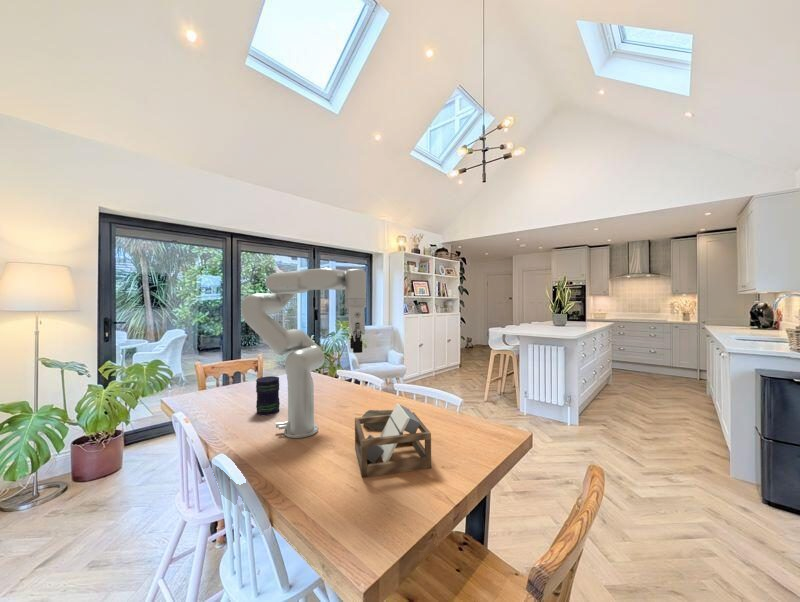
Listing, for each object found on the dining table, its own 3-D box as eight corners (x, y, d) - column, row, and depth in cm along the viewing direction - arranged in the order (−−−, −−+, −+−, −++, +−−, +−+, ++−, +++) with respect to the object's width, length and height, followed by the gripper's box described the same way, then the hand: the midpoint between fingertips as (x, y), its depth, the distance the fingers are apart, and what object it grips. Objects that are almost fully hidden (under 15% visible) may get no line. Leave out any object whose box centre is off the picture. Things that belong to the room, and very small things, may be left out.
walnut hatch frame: (361, 477, 91) (361, 441, 91) (355, 448, 109) (354, 417, 109) (431, 467, 96) (430, 433, 96) (413, 441, 114) (413, 412, 114)
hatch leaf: (398, 470, 96) (384, 464, 94) (388, 448, 110) (375, 442, 109) (421, 424, 97) (407, 418, 96) (408, 408, 112) (396, 402, 111)
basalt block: (384, 450, 100) (372, 441, 99) (373, 463, 99) (361, 454, 98) (381, 443, 105) (369, 434, 104) (370, 456, 104) (359, 446, 103)
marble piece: (405, 418, 137) (405, 408, 137) (400, 432, 123) (400, 422, 123) (367, 416, 139) (367, 407, 139) (358, 430, 125) (358, 420, 125)
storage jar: (274, 415, 141) (274, 381, 140) (252, 415, 141) (251, 381, 141) (283, 407, 150) (282, 376, 150) (262, 407, 151) (261, 376, 151)
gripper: (369, 303, 109) (370, 353, 109) (363, 303, 125) (363, 346, 125) (347, 303, 107) (347, 355, 107) (343, 303, 124) (344, 347, 124)
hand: (356, 350), depth 116 cm, fingers open, 9 cm apart
